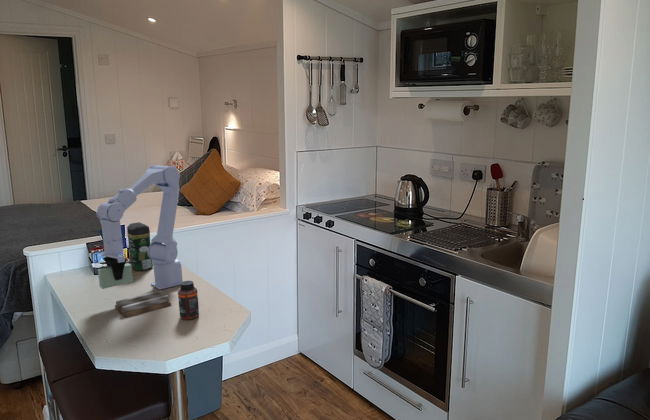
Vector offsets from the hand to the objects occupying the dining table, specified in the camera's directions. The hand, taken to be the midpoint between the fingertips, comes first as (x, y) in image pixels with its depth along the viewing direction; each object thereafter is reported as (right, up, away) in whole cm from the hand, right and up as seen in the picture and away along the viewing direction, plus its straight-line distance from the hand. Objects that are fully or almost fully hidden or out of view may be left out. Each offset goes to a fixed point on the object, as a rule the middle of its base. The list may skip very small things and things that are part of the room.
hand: (116, 278), depth 175 cm
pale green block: (0, -2, 0) cm, 2 cm away
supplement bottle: (+27, -11, -10) cm, 31 cm away
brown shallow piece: (+9, -9, -1) cm, 13 cm away
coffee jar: (-5, -1, +39) cm, 39 cm away
